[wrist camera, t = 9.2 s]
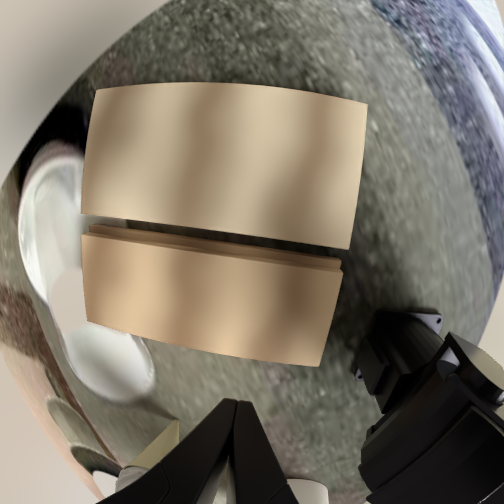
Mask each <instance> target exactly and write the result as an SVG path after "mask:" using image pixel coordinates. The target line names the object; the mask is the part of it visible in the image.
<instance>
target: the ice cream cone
mask: <svg viewBox="0 0 504 504" xmlns="http://www.w3.org/2000/svg"><path fill="white" fill-rule="evenodd" d="M178 443H179V420H177V419H174V420H173V422H172V423H171V424H170V425H169V426H168V427H167V428H166V429H165V430H164V431H163V432H162V433H161V434H160V435H159V436H158V437H157V438H156V439H155V440H154V441H152V443H151V444H150V445H149V446H148V447H147V448H146V449H145V450H143V451H142V452H141V453H140V454H139V455H138V456H137V457H136V458H135V459H134V460H133V461H132V462H131V463H130V464H129V465H126V466H125V467H124V468H123V470H121V472H120V475H119V478H118V480H117V481H116V490H115V492H118V491H119V490H121V489H123V488H124V487H126V486H128V485H129V484H131V483H132V482H134V481H135V480H137V479H138V478H139V477H141V476H142V475H143V474H145V473H146V472H147V471H148V470H150V469H151V468H152V467H153V466H154V465H155V464H156V463H157V462H160V460H161V459H162V458H163V457H164V456H165V455H166V454H168V453H169V452H170V451H171V450H172V449H173V448H174V447H175V446H176V445H177V444H178Z"/></svg>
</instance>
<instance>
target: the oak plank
mask: <svg viewBox="0 0 504 504" xmlns="http://www.w3.org/2000/svg"><path fill="white" fill-rule="evenodd" d="M366 118H367V104H364V103H360V102H356V101H352V100H347V99H343V98H338V97H334V96H329V95H323V94H318V93H312V92H307V91H300V90H294V89H287V88H279V87H270V86H261V85H249V84H235V83H209V82H181V83H156V84H142V85H131V86H122V87H114V88H106V89H99V90H96V95H95V99H94V104H93V109H92V114H91V120H90V125H89V131H88V138H87V145H86V153H85V161H84V171H83V182H82V197H81V214H88V215H96V216H105V217H114V218H122V219H130V220H139V221H147V222H155V223H163V224H171V225H178V226H186V227H194V228H201V229H209V230H216V231H224V232H231V233H238V234H245V235H252V236H259V237H267V238H273V239H280V240H287V241H294V242H301V243H308V244H314V245H321V246H327V247H334V248H340V249H347V250H349V245H350V240H351V234H352V229H353V223H354V217H355V211H356V205H357V198H358V192H359V184H360V177H361V169H362V161H363V152H364V142H365V131H366Z"/></svg>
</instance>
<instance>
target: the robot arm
mask: <svg viewBox="0 0 504 504" xmlns="http://www.w3.org/2000/svg"><path fill="white" fill-rule="evenodd" d="M381 314H384V315H383V317H381V318H379V316H380V315H381ZM438 318H439V320H438V321H437V319H438ZM443 320H444V318H443V316H442V315H441V314H439V313H428V312H415V311H404V310H392V309H379V310H377V311H376V313H375V315H374V319H373V322H372V325H371V328H370V331H369V334H368V335H367V336H366V337H365V339H364V342H363V345H362V348H361V351H360V354H359V357H358V359H357V368H356V371H355V373H354V376H355V379H356V380H357V381H364V382H365V385H366V388H367V390H368V393H369V394H370V395H371V396H375V398H376V400H377V403H378V405H379V408H380V410H381V413H382V414H385V415H384V416H383V417H382V418H381V419H380V420H379V421H378V422H377V423H376V424H375V425H372V426H371V427H370V428H369V429H368V430H367V435H366V441H365V442H364V444H363V447H362V449H361V464H360V465H359V466H358V470H359V473H360V476H361V479H362V481H363V482H364V484H365V486H366V487H367V489H368V490H369V491H370V492H371V494H370V495H368V496H367V497H366V500H367V501H368V502H369V503H371V504H504V370H503V368H502V367H501V366H500V365H499V364H498V363H497V362H496V361H495V360H494V359H493V358H492V357H490V356H489V355H488V354H487V353H486V352H485V351H483V350H482V349H480V348H479V347H477V346H475V345H473V344H471V343H470V342H468V341H466V340H464V339H463V338H461V337H459V336H457V335H455V334H454V333H452V332H450V331H449V332H448V334H447V335H446V337H445V338H444V339H445V341H443V340H442V338H441V337H440V336H439V335H438V334H439V331H440V328H441V326H442V323H443ZM360 374H361V376H359V375H360ZM229 450H230V451H229ZM228 456H229V457H228ZM227 460H228V468H227V504H299V502H298V500H297V499H296V497H295V495H294V493H293V491H292V489H291V487H290V485H289V484H287V483H288V481H287V479H286V477H285V475H284V473H283V471H282V469H281V467H280V465H279V463H278V460H277V458H276V456H275V454H274V452H273V450H272V447H271V445H270V443H269V441H268V438H267V436H266V434H265V432H264V429H263V427H262V425H261V423H260V420H259V418H258V416H257V413H256V411H255V409H254V406H253V404H252V402H250V401H243V400H239V401H237V400H236V399H230V398H224V399H223V400H222V401H221V402H220V403H219V404H218V405H217V406H216V407H215V408H214V409H213V410H212V411H211V412H210V413H209V414H208V415H207V416H206V417H205V418H204V419H203V420H202V421H201V422H200V423H199V424H198V425H197V426H196V427H195V428H194V429H193V430H192V431H191V432H190V433H189V434H188V435H187V436H186V437H185V438H184V439H183V440H182V441H180V442H179V443H178V444H177V445H176V446H175V447H174V448H173V449H172V450H171V451H170V452H169V453H168V454H166V455H165V456H164V457H163V458H162V459H161V460H160V462H157V463H156V464H155V465H154V466H153V467H152V468H151V469H150V470H148V471H147V472H146V473H145V474H143V475H142V476H141V477H139V478H138V479H137V480H135V481H134V482H132V483H131V484H129V485H128V486H126V487H124V488H123V489H121V490H119V491H118V492H116V493H114V494H112V495H111V496H109V497H107V498H105V499H103V500H102V501H100V502H98V503H96V504H212V503H213V501H214V498H215V495H216V492H217V490H218V487H219V484H220V481H221V479H222V476H223V473H224V470H225V467H226V464H227Z"/></svg>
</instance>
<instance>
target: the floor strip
mask: <svg viewBox="0 0 504 504" xmlns="http://www.w3.org/2000/svg"><path fill="white" fill-rule="evenodd" d="M81 246H82V271H83V285H84V296H85V306H86V314H87V321H89V322H93V323H96V324H99V325H102V326H105V327H109V328H112V329H116V330H119V331H122V332H126V333H130V334H133V335H137V336H141V337H145V338H149V339H153V340H157V341H161V342H165V343H169V344H174V345H178V346H183V347H187V348H192V349H197V350H202V351H207V352H213V353H218V354H224V355H230V356H236V357H242V358H248V359H255V360H262V361H270V362H278V363H286V364H296V365H306V366H317V367H319V364H320V360H321V357H322V354H323V350H324V347H325V343H326V340H327V336H328V333H329V329H330V325H331V322H332V318H333V314H334V310H335V306H336V302H337V298H338V294H339V290H340V285H341V281H342V276H343V272H342V271H341V270H340V265H341V260H340V259H339V258H334V257H328V256H321V255H314V254H307V253H300V252H294V251H287V250H280V249H273V248H266V247H259V246H252V245H245V244H238V243H231V242H224V241H217V240H209V239H202V238H195V237H188V236H181V235H173V234H166V233H159V232H152V231H144V230H137V229H129V228H122V227H115V226H107V225H100V224H93V225H89V232H88V233H84V234H81Z"/></svg>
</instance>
